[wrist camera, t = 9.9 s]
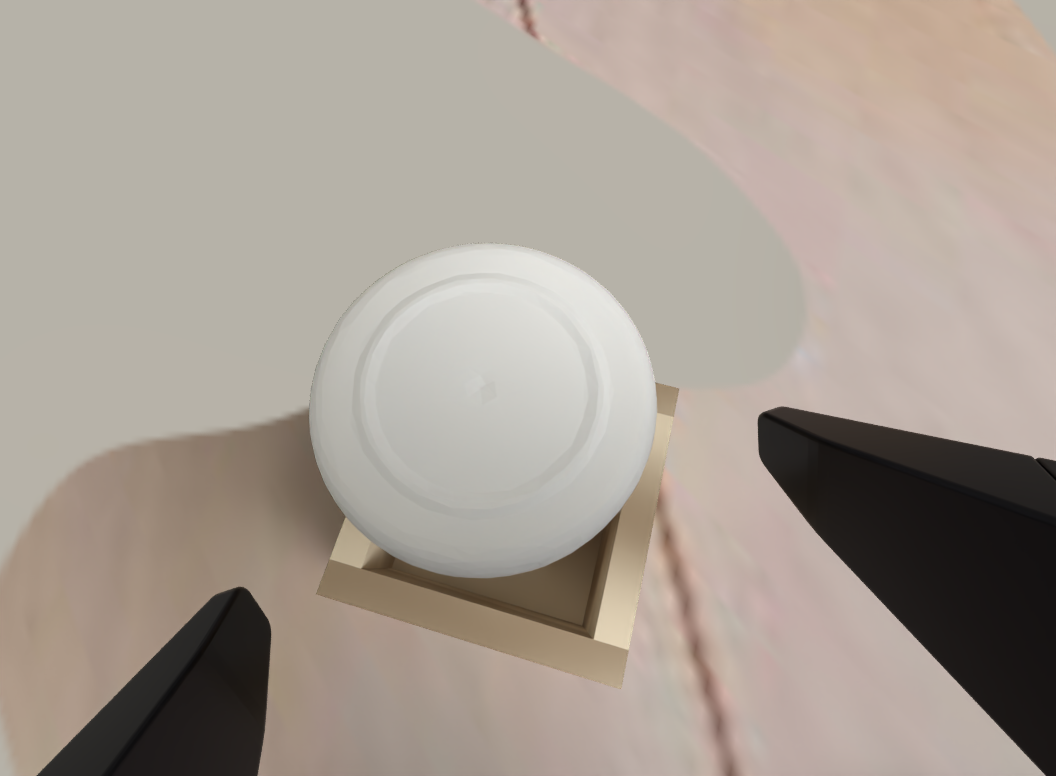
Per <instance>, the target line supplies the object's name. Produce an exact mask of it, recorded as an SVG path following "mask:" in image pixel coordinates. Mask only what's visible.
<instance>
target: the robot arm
mask: <svg viewBox="0 0 1056 776" xmlns="http://www.w3.org/2000/svg"><path fill="white" fill-rule="evenodd" d="M758 446H759V455H760V458H761V461H762V462H763V464H764V466H765V467H766V468H767V470H768V471H769V472H770V474H771V475H772V476H773V478H774V479H775V480H776V481H777V483H778V484H779V485H780V487H781V488H782V489H783V491H784V492H785V493H786V494H787V496H788V497H789V498H790V500H791V501H792V502H793V504H794V505H795V506H796V508H797V509H798V510H799V511H800V513H801V514H802V515H803V517H804V518H805V519H806V521H807V522H808V523H809V524H810V525H811V527H812V528H813V529H814V530H815V532H816V533H817V534H818V535H819V536H820V537H821V538H822V539H823V540H824V542H825V543H826V544H827V545H828V546H829V547H830V548H831V549H832V550H833V551H834V552H835V553H836V554H837V555H838V556H839V557H840V559H841V560H842V561H843V562H844V563H845V564H846V565H847V566H848V567H849V568H850V569H851V570H852V571H853V572H854V573H855V574H856V575H857V577H858V578H859V579H860V580H861V581H862V582H863V583H864V584H865V585H866V586H867V587H868V588H869V589H870V590H871V591H872V592H873V593H874V595H875V596H876V597H877V598H878V599H879V600H880V601H881V602H882V603H883V604H884V605H885V606H886V607H887V608H888V609H889V610H890V611H891V612H892V614H893V615H894V616H895V617H896V618H897V619H898V620H899V621H900V622H901V623H902V624H903V625H904V626H905V627H906V628H907V629H908V630H909V632H910V633H911V634H912V635H913V636H914V637H915V638H916V639H917V640H918V641H919V642H920V643H921V644H922V645H923V646H924V647H925V648H926V649H927V651H928V652H929V653H930V654H931V655H932V656H933V657H934V658H935V659H936V660H937V661H938V662H939V663H940V664H941V665H942V666H943V667H944V669H945V670H946V671H947V672H948V673H949V674H950V675H951V676H952V677H953V678H954V679H955V680H956V681H957V682H958V683H959V684H960V685H961V686H962V688H963V689H964V690H965V691H966V692H967V693H968V694H969V695H970V696H971V697H972V698H973V699H974V700H975V701H976V702H977V703H978V704H979V706H980V707H981V708H982V709H983V710H984V711H985V712H986V713H987V714H988V715H989V716H990V717H991V718H992V719H993V720H994V721H995V722H996V724H997V725H998V726H999V727H1000V728H1001V729H1002V730H1003V731H1004V732H1005V733H1006V734H1007V735H1008V736H1009V737H1010V738H1011V739H1012V740H1013V741H1014V743H1015V744H1016V745H1017V746H1018V747H1019V748H1020V749H1021V750H1022V751H1023V752H1024V753H1025V754H1026V755H1027V756H1028V757H1029V758H1030V759H1031V761H1032V762H1033V763H1034V764H1035V765H1036V766H1037V767H1038V768H1039V769H1040V770H1041V771H1042V772H1043V773H1044V774H1045V775H1046V776H1056V461H1054V460H1049V459H1044V458H1037V459H1034V458H1033V457H1032V456H1029V455H1024V454H1019V453H1013V452H1008V451H1003V450H998V449H993V448H988V447H983V446H978V445H973V444H968V443H963V442H958V441H953V440H948V439H943V438H938V437H933V436H928V435H923V434H918V433H913V432H908V431H903V430H898V429H893V428H888V427H883V426H878V425H873V424H868V423H863V422H858V421H854V420H849V419H844V418H839V417H834V416H829V415H824V414H819V413H814V412H809V411H804V410H799V409H794V408H789V407H777V408H774V409H771V410H768V411H765V412H763V413H761V414H760V415H759V418H758ZM270 647H271V627H270V623H269V621H268V619H267V617H266V616H265V614H264V613H263V611H262V610H261V608H260V607H259V605H258V604H257V602H256V601H255V599H254V598H253V596H252V595H251V593H250V592H249V591H248V590H247V589H246V588H244V587H236V588H233V589H230V590H227V591H224V592H221V593H219V594H216V595H215V596H213V597H212V598H211V599H210V600H209V601H208V602H207V603H206V604H205V605H204V606H203V607H202V608H201V609H200V610H199V611H198V612H197V613H196V614H195V615H194V616H193V617H192V618H191V619H190V620H189V621H188V623H187V624H186V625H185V626H184V627H183V628H182V629H181V630H180V631H179V632H178V633H177V634H176V635H175V636H174V637H173V638H172V639H171V640H170V641H169V642H168V643H167V644H166V645H165V646H164V647H163V648H162V649H161V650H160V651H159V652H158V653H157V654H156V655H155V656H154V657H153V658H152V659H151V660H150V661H149V662H148V663H147V664H146V665H145V666H144V667H143V668H142V669H141V670H140V671H139V672H138V673H137V674H136V675H135V676H134V677H133V678H132V679H131V680H130V681H129V682H128V683H127V684H126V685H125V686H124V687H123V688H122V689H121V690H120V692H119V693H118V694H117V695H116V696H115V697H114V698H113V699H112V700H111V701H110V702H109V703H108V704H107V705H106V706H105V707H104V708H103V709H102V710H101V711H100V712H99V713H98V714H97V715H96V716H95V717H94V718H93V719H92V720H91V721H90V722H89V723H88V724H87V725H86V726H85V727H84V728H83V729H82V730H81V731H80V732H79V733H78V734H77V735H76V736H75V737H74V738H73V739H72V740H71V741H70V742H69V743H68V744H67V745H66V746H65V747H64V748H63V749H62V750H61V751H60V752H59V753H58V754H57V755H56V756H55V757H54V758H53V759H52V761H51V762H50V763H49V764H48V765H47V766H46V767H45V768H44V769H43V770H42V771H41V772H40V773H39V774H38V775H37V776H257V775H258V769H259V763H260V757H261V751H262V745H263V738H264V732H265V722H266V709H267V694H268V678H269V662H270Z"/></svg>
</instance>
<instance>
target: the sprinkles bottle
mask: <svg viewBox="0 0 1056 776" xmlns="http://www.w3.org/2000/svg"><path fill="white" fill-rule="evenodd" d="M656 417H657V397H656V384H655V379H654V374H653V369H652V365H651V361H650V358H649V354H648V351H647V349H646V347H645V344H644V341H643V339H642V337H641V336H640V333H639V332H638V330H637V328H636V326H635V324H634V323H633V321H632V320H631V318H630V316H629V315H628V313H627V312H626V310H625V309H624V308H623V307H622V306H621V305H620V304H619V302H618V301H617V300H616V299H615V298H614V296H613V295H612V294H611V293H610V292H609V291H608V290H607V289H606V288H605V287H603V286H602V285H601V284H600V283H598V282H597V281H596V280H595V279H593V278H592V277H591V276H590V275H589V274H587V273H585V272H584V271H582V270H581V269H579V268H578V267H576V266H574V265H572V264H571V263H569V262H567V261H565V260H563V259H560V258H558V257H556V256H553V255H550V254H548V253H545V252H542V251H538V250H535V249H531V248H527V247H523V246H517V245H511V244H499V243H475V244H462V245H458V246H452V247H448V248H443V249H439V250H436V251H433V252H430V253H427V254H424V255H422V256H419V257H417V258H414V259H412V260H410V261H408V262H406V263H404V264H402V265H400V266H398V267H396V268H395V269H393V270H392V271H390V272H389V273H387V274H385V275H384V276H383V277H381V278H380V279H378V280H377V281H376V282H375V283H373V284H372V285H371V286H370V287H369V288H368V289H366V290H365V291H364V292H363V293H362V294H361V295H360V296H359V297H358V298H357V299H356V300H355V301H354V302H353V303H352V304H351V305H350V307H349V308H348V309H347V310H346V312H345V313H344V314H343V316H342V317H341V318H340V319H339V321H338V322H337V324H336V326H335V328H334V330H333V331H332V333H331V335H330V337H329V338H328V340H327V342H326V344H325V346H324V348H323V351H322V353H321V356H320V359H319V361H318V364H317V366H316V370H315V374H314V378H313V383H312V387H311V395H310V404H309V424H310V435H311V441H312V446H313V450H314V454H315V458H316V463H317V465H318V468H319V471H320V473H321V476H322V478H323V481H324V483H325V485H326V487H327V488H328V490H329V492H330V494H331V495H332V497H333V499H334V501H335V502H336V504H337V505H338V507H339V508H340V509H341V511H342V512H343V513H344V515H345V516H346V517H347V519H348V520H349V521H350V522H351V523H352V524H353V525H354V526H355V527H356V528H357V529H358V530H359V531H360V532H361V533H362V534H363V535H364V536H365V537H367V538H368V539H369V540H370V541H371V542H373V543H374V544H376V545H377V546H378V547H380V548H381V549H383V550H384V551H386V552H387V553H389V554H390V555H392V556H393V557H396V558H398V559H400V560H402V561H404V562H406V563H408V564H410V565H412V566H415V567H419V568H422V569H425V570H428V571H431V572H434V573H437V574H442V575H448V576H453V577H464V578H495V577H504V576H511V575H515V574H519V573H524V572H528V571H532V570H535V569H538V568H541V567H544V566H547V565H549V564H551V563H553V562H555V561H557V560H559V559H561V558H563V557H565V556H567V555H569V554H571V553H573V552H574V551H575V550H577V549H578V548H580V547H581V546H582V545H584V544H585V543H587V542H588V541H589V540H591V539H592V538H593V537H594V536H595V535H597V534H598V533H599V532H600V531H601V530H602V529H603V528H604V527H605V526H606V525H607V524H608V523H609V522H610V521H611V520H612V519H613V518H614V516H615V515H616V514H617V513H618V512H619V511H620V510H621V508H622V507H623V505H624V504H625V503H626V501H627V500H628V498H629V497H630V495H631V494H632V492H633V491H634V489H635V487H636V486H637V484H638V482H639V480H640V478H641V475H642V473H643V470H644V468H645V466H646V463H647V461H648V458H649V455H650V452H651V448H652V444H653V440H654V434H655V427H656Z"/></svg>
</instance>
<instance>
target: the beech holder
mask: <svg viewBox="0 0 1056 776" xmlns="http://www.w3.org/2000/svg"><path fill="white" fill-rule="evenodd" d="M655 384H656V397H657V417H656V427H655V434H654V440H653V444H652V448H651V452H650V455H649V458H648V461H647V463H646V466H645V468H644V470H643V473H642V475H641V478H640V480H639V482H638V484H637V486H636V487H635V489H634V491H633V492H632V494H631V495H630V497H629V498H628V500H627V501H626V503H625V504H624V505H623V507H622V508H621V510H620V511H619V512H618V513H617V514H616V515H615V516H614V518H613V519H612V520H611V521H610V522H609V523H608V524H607V525H606V526H605V527H604V528H603V529H602V530H601V531H600V532H599V533H598V534H597V535H595V536H594V537H593V538H592V539H591V540H589V541H588V542H587V543H585V544H584V545H582V546H581V547H580V548H578V549H577V550H575V551H574V552H573V553H571V554H569V555H567V556H565V557H563V558H561V559H559V560H557V561H555V562H553V563H551V564H549V565H547V566H544V567H541V568H538V569H535V570H532V571H528V572H524V573H519V574H515V575H511V576H504V577H495V578H464V577H453V576H448V575H442V574H437V573H434V572H431V571H428V570H425V569H422V568H419V567H415V566H412V565H410V564H408V563H406V562H404V561H402V560H400V559H398V558H396V557H393V556H392V555H390V554H389V553H387V552H386V551H384V550H383V549H381V548H380V547H378V546H377V545H376V544H374V543H373V542H371V541H370V540H369V539H368V538H367V537H365V536H364V535H363V534H362V533H361V532H360V531H359V530H358V529H357V528H356V527H355V526H354V525H353V524H352V523H351V522H350V521H349V520H348V519H347V517H345V520H344V522H343V525H342V528H341V530H340V533H339V535H338V538H337V541H336V543H335V546H334V549H333V551H332V554H331V556H330V559H329V562H328V564H327V567H326V569H325V572H324V575H323V577H322V580H321V582H320V585H319V588H318V590H317V593H316V594H317V595H320V596H324V597H327V598H330V599H333V600H336V601H340V602H343V603H346V604H349V605H352V606H356V607H359V608H362V609H365V610H368V611H372V612H375V613H378V614H381V615H384V616H388V617H391V618H394V619H397V620H400V621H404V622H407V623H410V624H413V625H416V626H420V627H423V628H426V629H429V630H432V631H436V632H439V633H442V634H445V635H448V636H452V637H455V638H458V639H461V640H464V641H468V642H471V643H474V644H477V645H480V646H484V647H487V648H490V649H493V650H496V651H500V652H503V653H506V654H509V655H512V656H516V657H519V658H522V659H525V660H529V661H532V662H535V663H538V664H541V665H545V666H548V667H551V668H554V669H557V670H561V671H564V672H567V673H570V674H573V675H577V676H580V677H583V678H586V679H589V680H593V681H596V682H599V683H602V684H605V685H609V686H612V687H615V688H618V689H621V687H622V682H623V677H624V672H625V666H626V661H627V656H628V651H629V646H630V640H631V635H632V630H633V625H634V620H635V615H636V609H637V604H638V599H639V594H640V589H641V584H642V578H643V573H644V568H645V563H646V558H647V553H648V547H649V542H650V537H651V532H652V527H653V521H654V516H655V511H656V506H657V501H658V496H659V490H660V485H661V480H662V475H663V470H664V465H665V459H666V454H667V449H668V444H669V439H670V434H671V428H672V423H673V418H674V413H675V408H676V402H677V397H678V392H679V389H678V388H675V387H671V386H667V385H663V384H659V383H655Z"/></svg>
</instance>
